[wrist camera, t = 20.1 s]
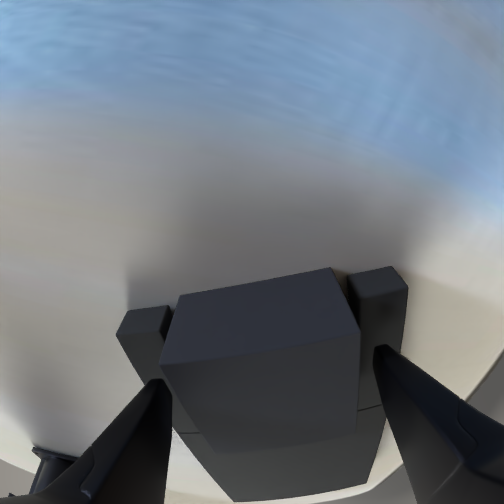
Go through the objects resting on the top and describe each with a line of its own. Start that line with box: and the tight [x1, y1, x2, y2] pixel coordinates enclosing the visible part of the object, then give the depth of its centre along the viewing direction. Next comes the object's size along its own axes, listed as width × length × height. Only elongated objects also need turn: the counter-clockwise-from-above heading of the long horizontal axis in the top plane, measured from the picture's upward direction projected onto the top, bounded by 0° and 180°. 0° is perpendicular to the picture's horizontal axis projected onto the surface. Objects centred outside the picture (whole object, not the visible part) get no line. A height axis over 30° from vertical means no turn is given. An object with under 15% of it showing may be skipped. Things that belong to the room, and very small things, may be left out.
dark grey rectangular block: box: [159, 267, 361, 454], centre depth 10 cm, size 5×5×4 cm
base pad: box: [116, 266, 408, 502], centre depth 14 cm, size 10×18×2 cm, turn 11°
